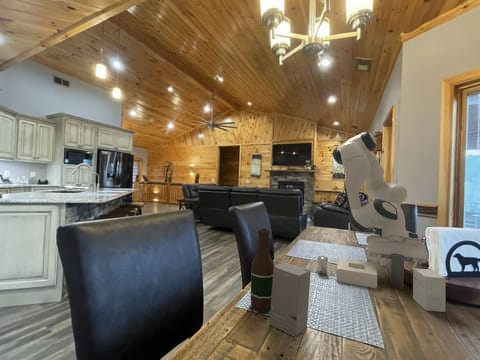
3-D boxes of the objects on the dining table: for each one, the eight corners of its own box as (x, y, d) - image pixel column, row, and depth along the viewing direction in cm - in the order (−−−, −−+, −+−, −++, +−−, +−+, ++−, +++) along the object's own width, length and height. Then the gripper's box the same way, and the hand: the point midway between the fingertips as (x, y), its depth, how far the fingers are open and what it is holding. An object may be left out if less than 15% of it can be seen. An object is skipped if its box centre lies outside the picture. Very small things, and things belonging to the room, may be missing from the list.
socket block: (339, 269, 110) (339, 258, 110) (374, 275, 104) (374, 263, 104) (336, 281, 97) (336, 268, 97) (377, 288, 91) (377, 274, 91)
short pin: (318, 271, 108) (318, 255, 108) (327, 273, 106) (328, 256, 106) (316, 274, 104) (317, 257, 104) (326, 276, 102) (327, 259, 102)
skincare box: (268, 325, 67) (270, 266, 67) (283, 315, 72) (284, 260, 72) (296, 339, 61) (297, 275, 61) (310, 327, 66) (311, 268, 66)
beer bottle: (245, 303, 78) (247, 227, 78) (267, 299, 81) (268, 226, 81) (256, 316, 71) (258, 232, 71) (280, 311, 74) (281, 231, 74)
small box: (445, 313, 75) (446, 278, 75) (424, 310, 76) (425, 276, 76) (431, 300, 83) (431, 269, 83) (412, 298, 84) (412, 267, 84)
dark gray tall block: (390, 283, 96) (391, 252, 96) (402, 285, 94) (403, 254, 94) (391, 287, 92) (392, 255, 92) (404, 289, 91) (405, 257, 91)
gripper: (366, 230, 104) (366, 260, 95) (426, 236, 95) (432, 269, 86) (365, 238, 108) (366, 268, 99) (423, 245, 99) (428, 277, 90)
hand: (397, 268), depth 93 cm, fingers open, 8 cm apart
